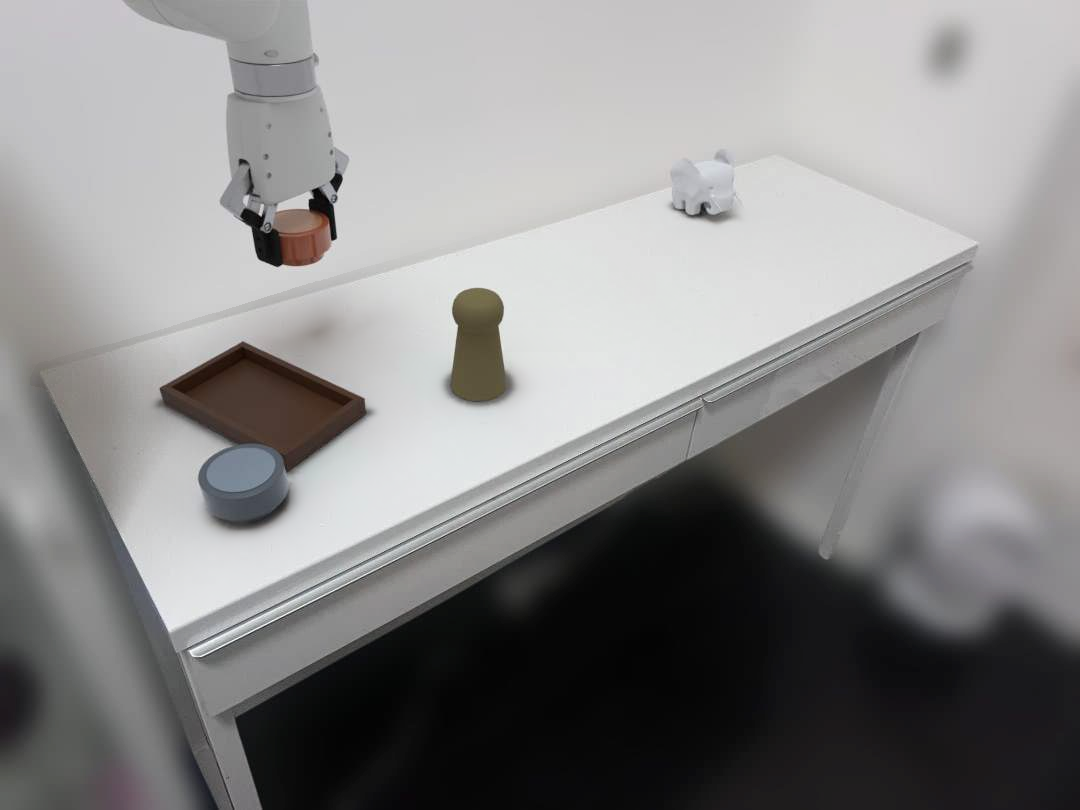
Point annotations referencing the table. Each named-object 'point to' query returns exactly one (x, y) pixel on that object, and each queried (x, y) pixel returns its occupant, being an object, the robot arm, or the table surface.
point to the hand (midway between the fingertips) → (298, 248)
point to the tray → (264, 402)
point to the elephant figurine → (704, 184)
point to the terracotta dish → (302, 236)
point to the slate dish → (243, 482)
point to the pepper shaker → (478, 346)
